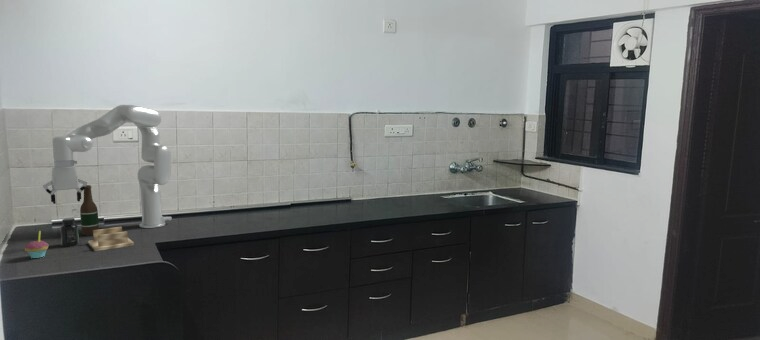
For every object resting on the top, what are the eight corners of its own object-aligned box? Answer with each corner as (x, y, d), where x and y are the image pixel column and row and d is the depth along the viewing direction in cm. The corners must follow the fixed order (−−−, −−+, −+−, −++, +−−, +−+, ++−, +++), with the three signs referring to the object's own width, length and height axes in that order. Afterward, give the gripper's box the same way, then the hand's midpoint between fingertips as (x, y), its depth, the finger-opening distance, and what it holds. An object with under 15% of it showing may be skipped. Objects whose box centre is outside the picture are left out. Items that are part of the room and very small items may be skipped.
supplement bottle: (81, 243, 254) (80, 217, 252) (73, 247, 247) (71, 220, 246) (67, 243, 254) (65, 217, 252) (58, 247, 247) (56, 220, 246)
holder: (125, 238, 263) (125, 225, 262) (134, 245, 250) (133, 231, 249) (88, 243, 253) (87, 230, 252) (94, 251, 240) (93, 237, 240)
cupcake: (53, 254, 235) (51, 227, 234) (42, 260, 227) (39, 232, 225) (33, 254, 235) (30, 227, 234) (20, 260, 227) (18, 232, 225)
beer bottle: (79, 236, 266) (76, 187, 263) (83, 232, 273) (80, 184, 270) (97, 235, 268) (94, 186, 265) (101, 231, 275) (97, 184, 272)
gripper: (84, 162, 254) (86, 199, 256) (40, 164, 243) (43, 203, 246) (87, 163, 248) (89, 201, 250) (42, 166, 237) (45, 205, 240)
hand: (66, 202), depth 248 cm, fingers open, 9 cm apart
